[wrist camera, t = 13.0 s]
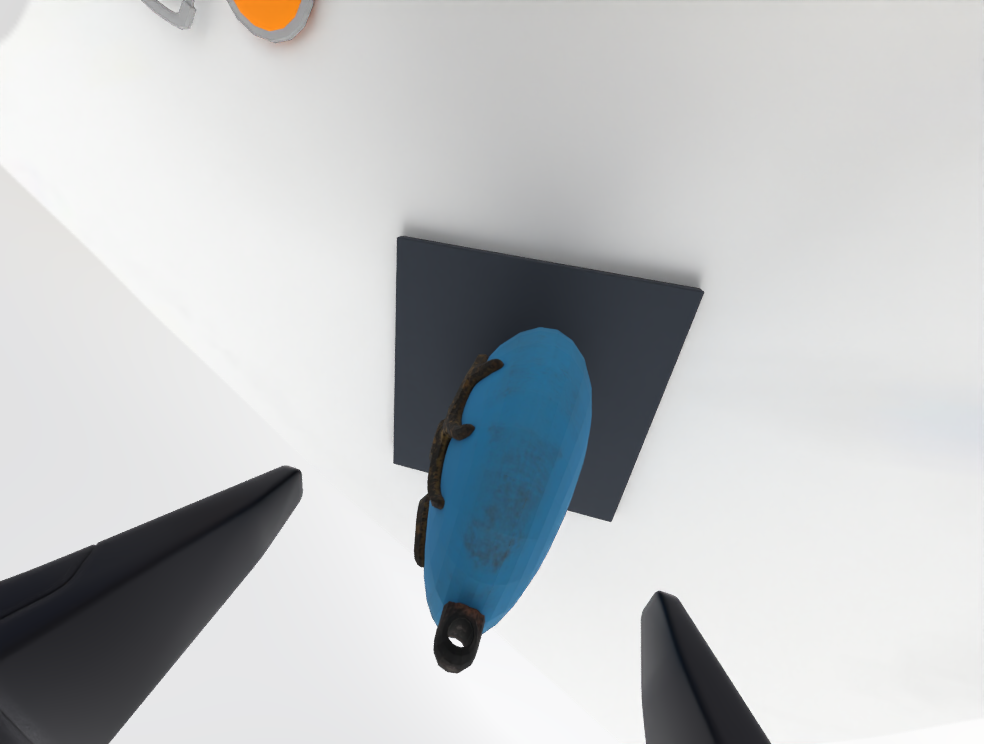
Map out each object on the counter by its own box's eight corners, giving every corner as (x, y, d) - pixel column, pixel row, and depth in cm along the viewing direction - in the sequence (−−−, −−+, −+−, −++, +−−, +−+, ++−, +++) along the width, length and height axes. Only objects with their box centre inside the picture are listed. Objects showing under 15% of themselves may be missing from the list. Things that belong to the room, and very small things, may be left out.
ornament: (499, 281, 13) (340, 438, 5) (619, 323, 13) (701, 580, 4) (449, 448, 17) (310, 709, 8) (540, 484, 17) (497, 794, 8)
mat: (700, 288, 12) (705, 291, 12) (610, 514, 17) (611, 522, 17) (402, 235, 14) (396, 236, 14) (397, 457, 19) (392, 463, 18)
